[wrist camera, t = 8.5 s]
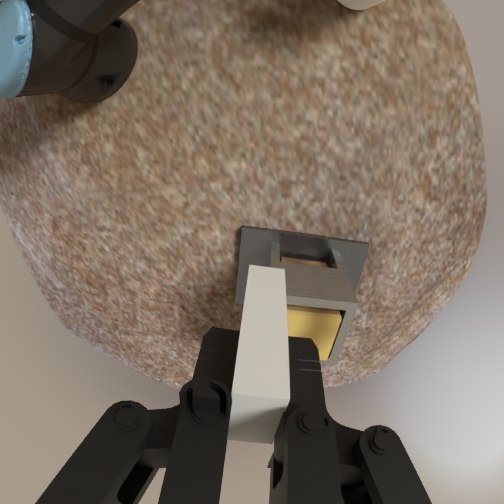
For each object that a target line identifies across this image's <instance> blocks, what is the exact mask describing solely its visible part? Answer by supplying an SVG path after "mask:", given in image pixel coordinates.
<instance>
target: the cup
mask: <svg viewBox="0 0 504 504" xmlns="http://www.w3.org/2000/svg"><path fill="white" fill-rule="evenodd" d="M337 1H338V2H340V3H341V4H342V5H344V6H345V7H347V8H350V9H353V10H365V9H368V8H370V7H373V6H375V5H377V4H379V3H381V2H383V1H386V0H337Z"/></svg>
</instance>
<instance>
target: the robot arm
mask: <svg viewBox="0 0 504 504" xmlns="http://www.w3.org/2000/svg"><path fill="white" fill-rule="evenodd" d="M138 1H140V0H2V1H0V97H5V98H14V97H20V96H28V95H37V94H48V93H58V94H60V95H62V96H64V97H66V98H68V99H69V100H72V101H75V102H80V103H87V102H97V101H100V100H103V99H105V98H107V97H109V96H111V95H112V94H113V93H115V92H116V91H117V90H118V89H119V88H120V87H121V86H122V85H123V84H124V83H125V81H126V80H127V78H128V77H129V75H130V74H131V72H132V69H133V67H134V64H135V61H136V57H137V47H138V46H137V38H136V35H135V32H134V30H133V28H132V27H131V26H130V25H129V24H128V23H127V22H126V21H125V20H123V19H121V18H119V16H121V15H122V14H123V13H124V12H126V11H127V10H128V9H129V8H131V7H132V6H133V5H134V4H136V3H137V2H138ZM179 396H180V404H179V405H177V406H174V407H172V408H167V409H155V410H147V408H146V407H144V406H143V405H141V404H140V403H137V402H134V401H120V402H117V403H115V404H113V405H112V406H111V407H109V408H108V409H107V410H106V412H105V413H104V414H103V416H102V417H101V418H100V419H99V421H98V422H97V423H96V425H95V426H94V427H93V428H92V430H91V431H90V433H89V434H88V435H87V437H85V439H84V440H83V441H82V443H81V444H80V446H79V447H78V448H77V449H76V451H75V452H74V453H73V454H72V456H71V457H70V458H69V460H68V461H67V462H66V464H65V465H64V466H63V467H62V469H61V470H60V471H59V473H58V474H57V475H56V477H55V478H54V479H53V481H52V482H51V483H50V485H49V486H48V487H47V489H46V490H45V491H44V493H43V494H42V495H41V497H40V498H39V499H38V501H37V502H36V503H35V504H138V503H139V501H140V500H141V498H142V496H143V494H144V493H145V491H146V490H147V488H148V486H149V485H150V483H151V481H152V480H153V478H154V476H155V475H156V473H157V471H158V470H159V468H166V472H165V476H164V480H163V484H162V489H161V493H160V497H159V502H158V504H219V499H220V491H221V483H222V476H223V468H224V461H225V453H226V444H227V439H229V440H237V441H246V442H256V443H268V444H272V443H273V441H274V452H273V454H272V457H271V459H270V461H269V463H268V468H271V475H270V498H269V504H432V503H431V501H430V499H429V497H428V494H427V492H426V490H425V488H424V486H423V484H422V482H421V480H420V478H419V476H418V474H417V472H416V470H415V468H414V466H413V464H412V462H411V460H410V458H409V456H408V454H407V452H406V450H405V448H404V446H403V444H402V442H401V440H400V438H399V436H398V435H397V434H396V433H395V431H393V430H392V429H390V428H389V427H386V426H382V425H376V426H371V427H369V428H367V429H365V431H360V430H356V429H352V428H349V427H346V426H343V425H340V424H339V423H337V422H336V421H334V420H333V419H332V417H331V416H330V415H329V413H328V412H327V409H326V405H325V397H324V388H323V380H322V373H321V365H320V358H319V350H318V348H317V346H316V345H315V343H314V342H313V340H312V339H311V338H303V337H293V336H288V324H287V303H286V284H285V269H279V268H271V267H264V266H256V265H249V271H248V278H247V285H246V292H245V300H244V307H243V314H242V321H241V329H240V331H236V330H229V329H222V328H215V327H212V328H211V329H210V330H209V331H208V332H207V333H206V334H205V335H204V337H203V340H202V344H201V349H200V352H199V355H198V359H197V363H196V367H195V371H194V375H193V378H192V380H190V381H189V382H188V383H186V384H185V385H183V387H182V389H181V390H180V392H179ZM274 438H275V439H274Z"/></svg>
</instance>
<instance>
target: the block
mask: <svg viewBox="0 0 504 504" xmlns="http://www.w3.org/2000/svg"><path fill="white" fill-rule="evenodd" d="M281 262H288V263H295V264H303V265H311V266H319V267H327V263H325V262H317V261H309V260H301V259H294V258H286V257H282V259H281ZM327 268H328V267H327ZM341 320H342V319H341V315H340V311H339V310H336V309H326V308H316V307H307V306H298V305H289V304H287V324H288V336H293V337H303V338H311V339H312V340H313V342H314V343H315V345H316V346H317V348H318V350H319V358H320V360H327V359H328V356H329V353H330V351H331V348H332V345H333V342H334V340H335V337H336V334H337V331H338V328H339V325H340V323H341Z"/></svg>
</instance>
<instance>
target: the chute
mask: <svg viewBox="0 0 504 504" xmlns="http://www.w3.org/2000/svg"><path fill="white" fill-rule="evenodd" d="M368 247H369V244H368V243H367V242H361V241H354V240H347V239H340V238H333V237H326V236H319V235H312V234H305V233H297V232H290V231H282V230H275V229H267V228H259V227H251V226H242V234H241V244H240V254H239V264H238V275H237V285H236V296H235V304H243V305H244V300H245V292H246V285H247V278H248V271H249V265H256V266H264V267H271V268H279V269H285V284H286V303H287V304H289V305H298V306H307V307H316V308H326V309H336V310H339V311H340V315H341V319H342V320H341V323H340V325H339V328H338V331H337V334H336V337H335V340H334V342H333V345H332V348H331V351H330V353H329V356H328V359H327V360H320V364H327V365H335V364H336V362H337V359H338V357H339V354H340V352H341V349H342V347H343V344H344V342H345V339H346V336H347V334H348V331H349V328H350V326H351V323H352V320H353V317H354V315H355V312H356V309H357V306H358V300H357V298H356V295H355V291H356V288H357V285H358V281H359V278H360V275H361V272H362V268H363V265H364V261H365V258H366V255H367V251H368ZM282 257H286V258H294V259H301V260H309V261H317V262H325V263H327V267H328V268H327V267H319V266H311V265H303V264H295V263H288V262H281V259H282Z"/></svg>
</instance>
